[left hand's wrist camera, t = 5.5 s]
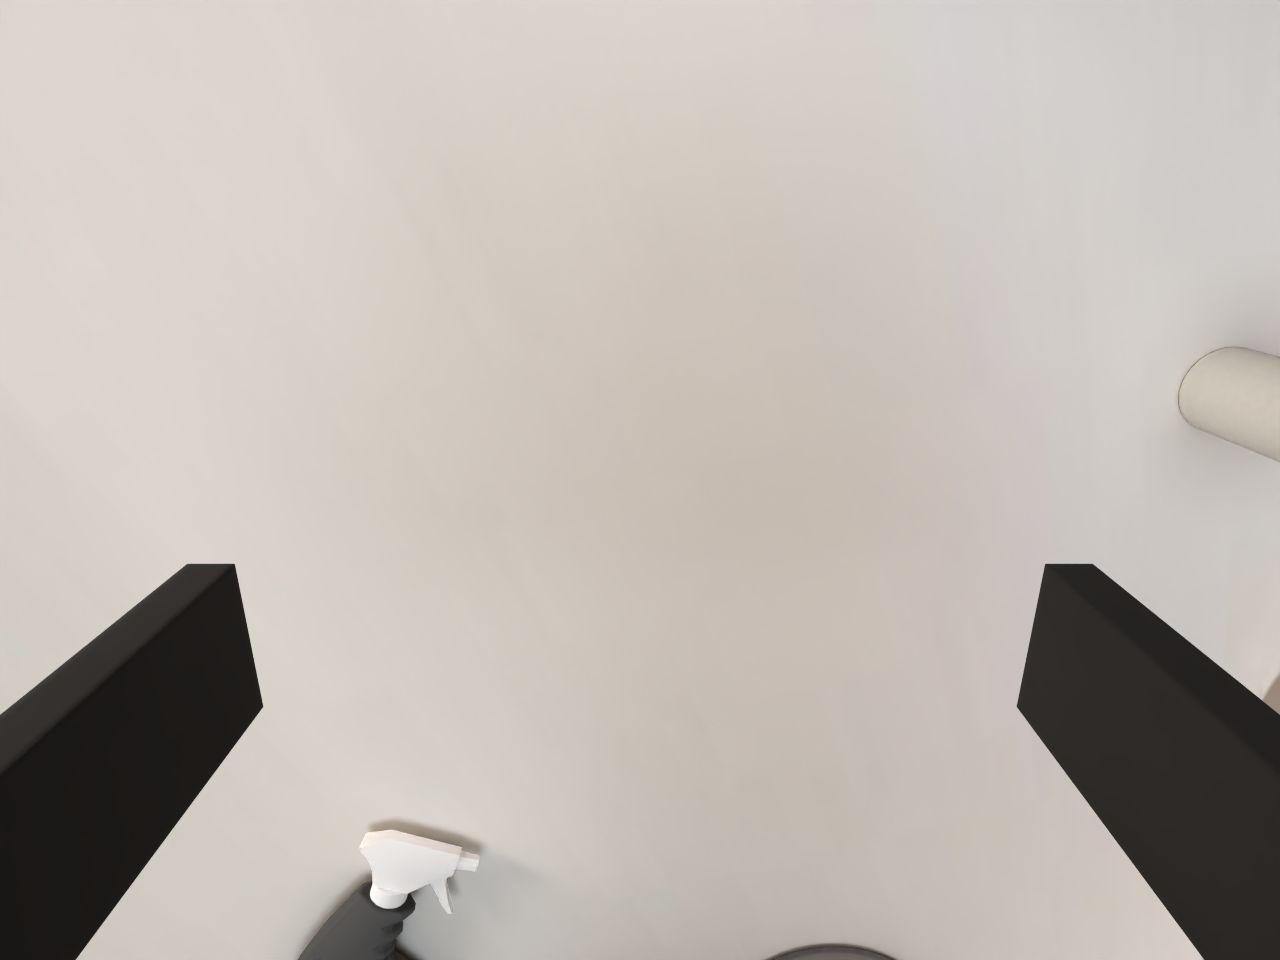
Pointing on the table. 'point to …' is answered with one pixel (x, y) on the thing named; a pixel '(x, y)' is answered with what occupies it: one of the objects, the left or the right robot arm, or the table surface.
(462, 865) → the spray bottle
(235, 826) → the table surface
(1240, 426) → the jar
